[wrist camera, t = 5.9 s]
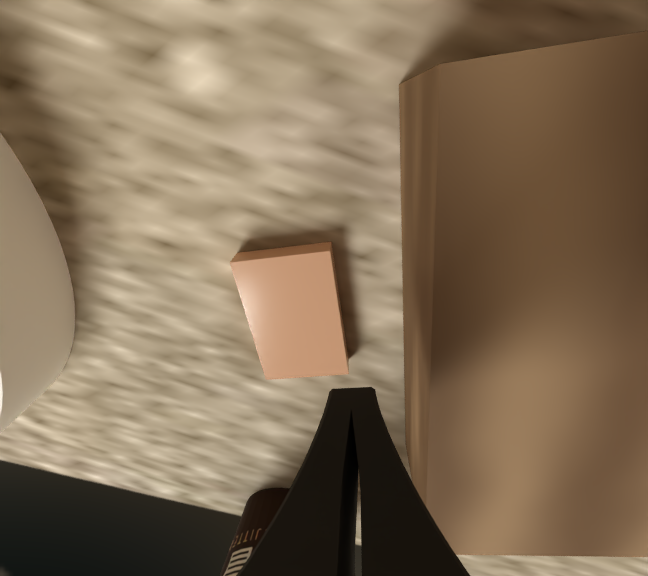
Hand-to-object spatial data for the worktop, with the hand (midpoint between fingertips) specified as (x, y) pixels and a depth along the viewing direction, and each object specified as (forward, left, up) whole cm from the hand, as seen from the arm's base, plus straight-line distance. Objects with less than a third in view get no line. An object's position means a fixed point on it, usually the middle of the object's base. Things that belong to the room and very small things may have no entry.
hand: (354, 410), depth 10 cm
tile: (+3, 0, -6) cm, 6 cm away
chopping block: (-9, +1, -7) cm, 11 cm away
